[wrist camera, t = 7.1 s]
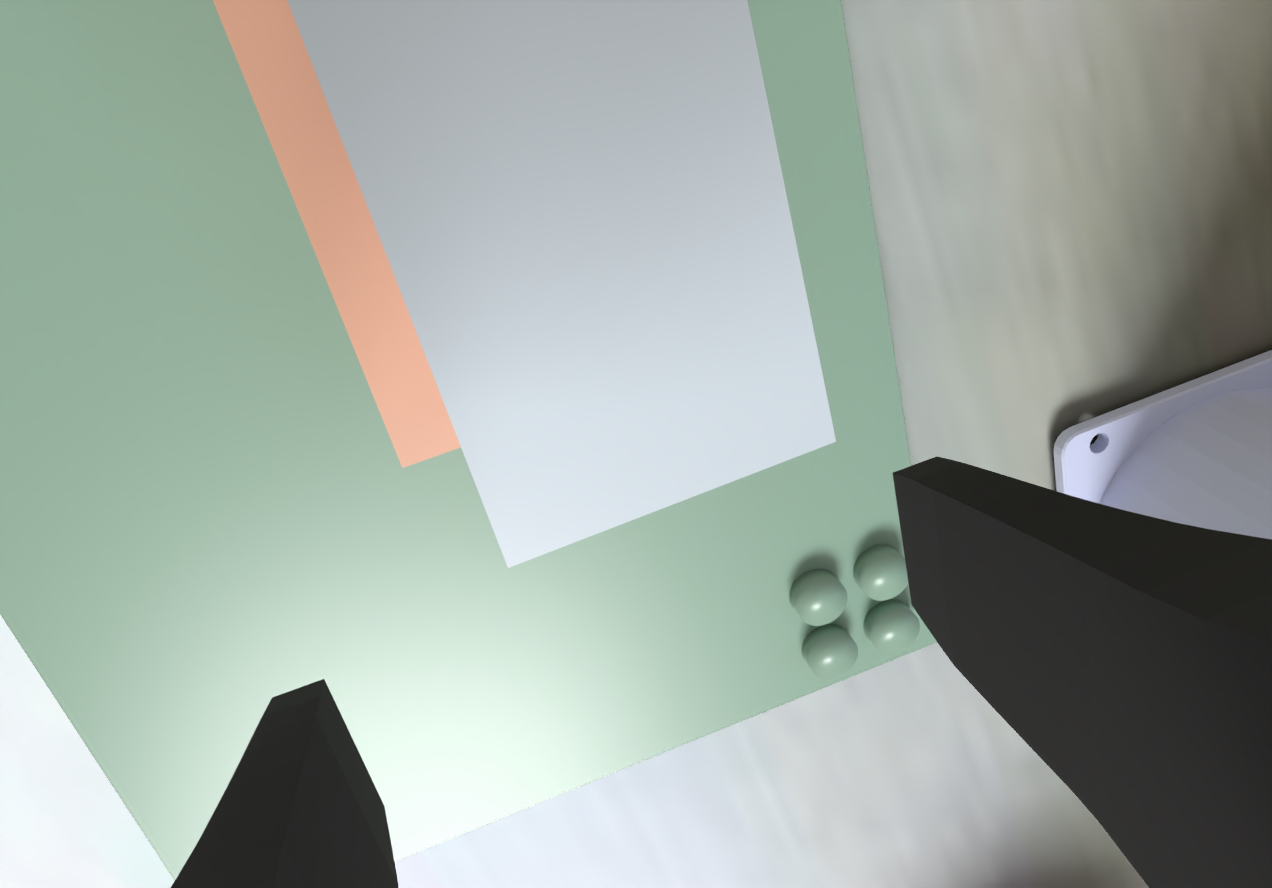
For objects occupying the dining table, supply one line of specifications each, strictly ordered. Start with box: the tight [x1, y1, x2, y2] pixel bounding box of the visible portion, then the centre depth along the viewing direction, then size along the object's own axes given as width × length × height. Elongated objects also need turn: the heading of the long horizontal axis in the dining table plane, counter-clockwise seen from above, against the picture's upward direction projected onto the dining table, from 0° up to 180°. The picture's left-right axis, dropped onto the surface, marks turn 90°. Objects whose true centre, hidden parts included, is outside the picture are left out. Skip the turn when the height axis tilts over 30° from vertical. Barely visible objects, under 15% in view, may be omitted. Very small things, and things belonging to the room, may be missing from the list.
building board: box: [0, 0, 937, 880], centre depth 21 cm, size 18×20×2 cm
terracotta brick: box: [213, 0, 461, 468], centre depth 17 cm, size 6×8×4 cm
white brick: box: [287, 0, 836, 568], centre depth 13 cm, size 4×6×5 cm, turn 15°
